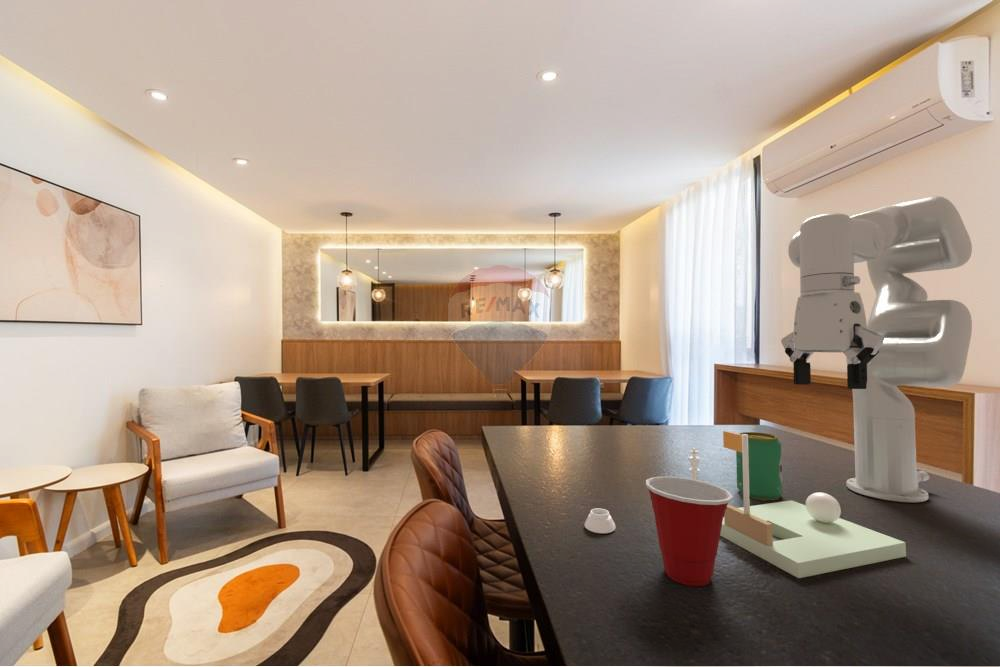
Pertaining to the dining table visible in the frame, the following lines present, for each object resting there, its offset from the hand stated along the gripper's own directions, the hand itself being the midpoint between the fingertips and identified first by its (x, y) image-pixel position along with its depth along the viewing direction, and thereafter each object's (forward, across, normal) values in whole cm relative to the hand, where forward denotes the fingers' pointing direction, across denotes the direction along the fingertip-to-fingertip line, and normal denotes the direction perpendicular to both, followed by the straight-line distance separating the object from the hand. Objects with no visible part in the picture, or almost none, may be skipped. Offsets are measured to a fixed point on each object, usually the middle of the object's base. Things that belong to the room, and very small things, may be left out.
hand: (827, 386), depth 76 cm
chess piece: (+24, +17, +13) cm, 32 cm away
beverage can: (+23, +16, -1) cm, 28 cm away
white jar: (+25, +9, +38) cm, 46 cm away
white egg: (+19, -3, +5) cm, 20 cm away
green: (+24, -3, +10) cm, 26 cm away
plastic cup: (+25, -7, +33) cm, 42 cm away
